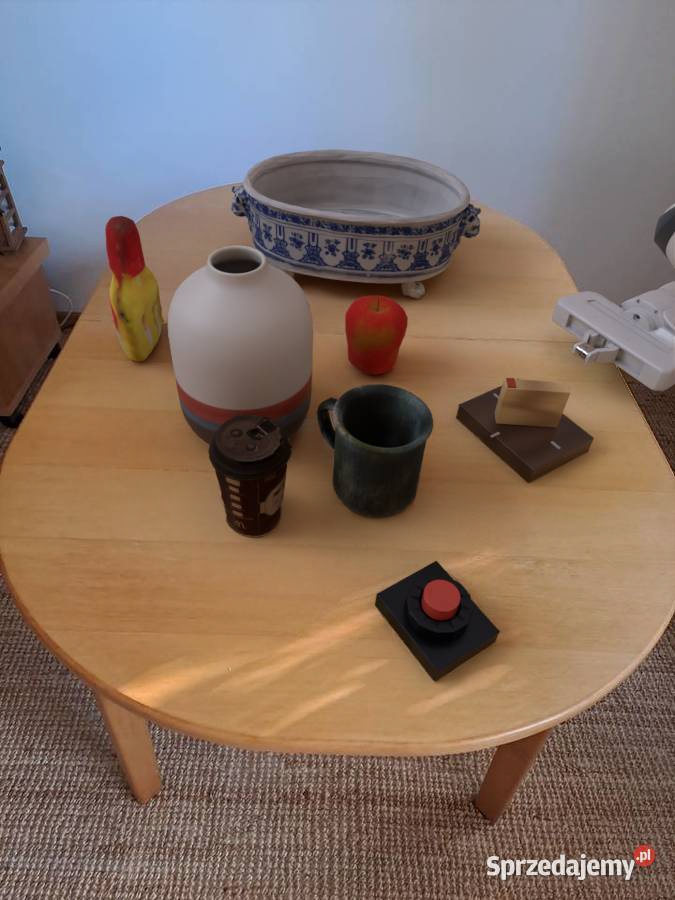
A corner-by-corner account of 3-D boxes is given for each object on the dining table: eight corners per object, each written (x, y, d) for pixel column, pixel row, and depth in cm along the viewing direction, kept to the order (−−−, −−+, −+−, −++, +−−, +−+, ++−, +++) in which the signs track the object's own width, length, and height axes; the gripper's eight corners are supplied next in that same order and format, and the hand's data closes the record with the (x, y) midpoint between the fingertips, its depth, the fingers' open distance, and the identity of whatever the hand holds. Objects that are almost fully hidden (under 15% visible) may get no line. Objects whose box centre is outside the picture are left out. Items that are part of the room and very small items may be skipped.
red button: (464, 609, 66) (468, 600, 65) (436, 627, 65) (439, 617, 64) (441, 583, 68) (444, 573, 67) (414, 599, 67) (416, 589, 66)
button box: (495, 642, 68) (504, 622, 65) (434, 682, 65) (440, 662, 62) (433, 571, 74) (439, 550, 71) (374, 605, 70) (377, 583, 68)
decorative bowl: (217, 292, 110) (209, 205, 100) (246, 217, 129) (241, 137, 118) (475, 314, 109) (495, 228, 99) (466, 235, 128) (482, 156, 117)
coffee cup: (292, 488, 81) (291, 408, 72) (293, 544, 75) (292, 465, 66) (219, 489, 81) (209, 409, 71) (215, 546, 75) (203, 466, 66)
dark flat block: (591, 449, 88) (598, 435, 87) (524, 485, 83) (530, 471, 82) (517, 390, 96) (521, 375, 94) (452, 419, 91) (455, 404, 89)
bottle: (156, 370, 96) (131, 241, 81) (111, 368, 96) (79, 239, 81) (171, 322, 104) (152, 197, 90) (130, 320, 104) (104, 195, 90)
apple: (332, 373, 97) (336, 303, 89) (357, 342, 103) (362, 274, 94) (387, 391, 95) (396, 322, 86) (409, 359, 100) (419, 291, 92)
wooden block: (554, 417, 89) (568, 380, 84) (557, 427, 87) (571, 391, 83) (494, 413, 89) (504, 376, 84) (495, 423, 87) (506, 386, 83)
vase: (291, 477, 83) (290, 315, 66) (162, 450, 85) (129, 287, 68) (324, 391, 94) (331, 235, 77) (210, 369, 96) (192, 213, 80)
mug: (384, 538, 77) (396, 467, 68) (289, 476, 83) (289, 403, 74) (436, 485, 83) (453, 413, 74) (344, 430, 89) (350, 358, 80)
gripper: (597, 273, 101) (531, 298, 95) (714, 344, 89) (648, 377, 84) (584, 308, 106) (520, 334, 100) (694, 380, 94) (630, 414, 88)
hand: (579, 354), depth 92 cm, fingers closed
